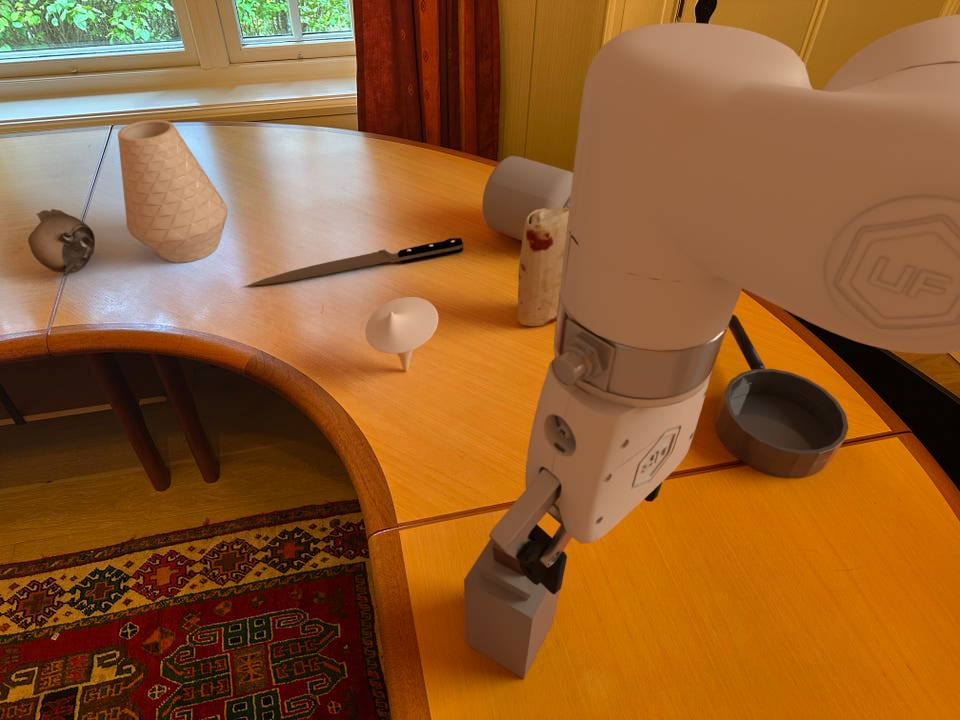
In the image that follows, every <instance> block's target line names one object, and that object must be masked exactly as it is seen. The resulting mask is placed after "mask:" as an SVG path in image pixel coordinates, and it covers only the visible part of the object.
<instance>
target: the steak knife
mask: <svg viewBox="0 0 960 720" xmlns="http://www.w3.org/2000/svg"><path fill="white" fill-rule="evenodd" d="M464 247H465V243H464V242H463V239H462V238H461V237H452V238H451V237H450V238H447V239H445V240H442V241H437V242H430V243H425V244H421V245H415V246H412V247H408V248H407V247H406V248H403V249H399V250H398V251H397V253H391V252H389V251H387V250H386V249H381V250H378V251H375V252H370V253H366V254H361V255H357V256H352V257H346V258H340V259H336V260H332V261H327V262H323V263H318V264H314V265H309V266H305V267H302V268H297V269H293V270H289V271H286V272H283V273H279V274H276V275H273V276H269V277H266V278H263V279H261V280H257V281H254V282H252V283H250V284H247V285H244V287H254V286H255V287H256V286H265V285H272V284H279V283H286V282H293V281H298V280H302V279H307V278H312V277H319V276H323V275H324V276H325V275H329V274H333V273H338V272H344V271H349V270H353V269H359V268H364V267H370V266H374V265H379V264H385V263H390V264H391V263H396V262H400V263H401V264H407V263H413V262H419V261H424V260H428V259H434V258H439V257H443V256H444V257H445V256H450V255H453V254H459V253H461V252H463V251H464Z"/></svg>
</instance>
